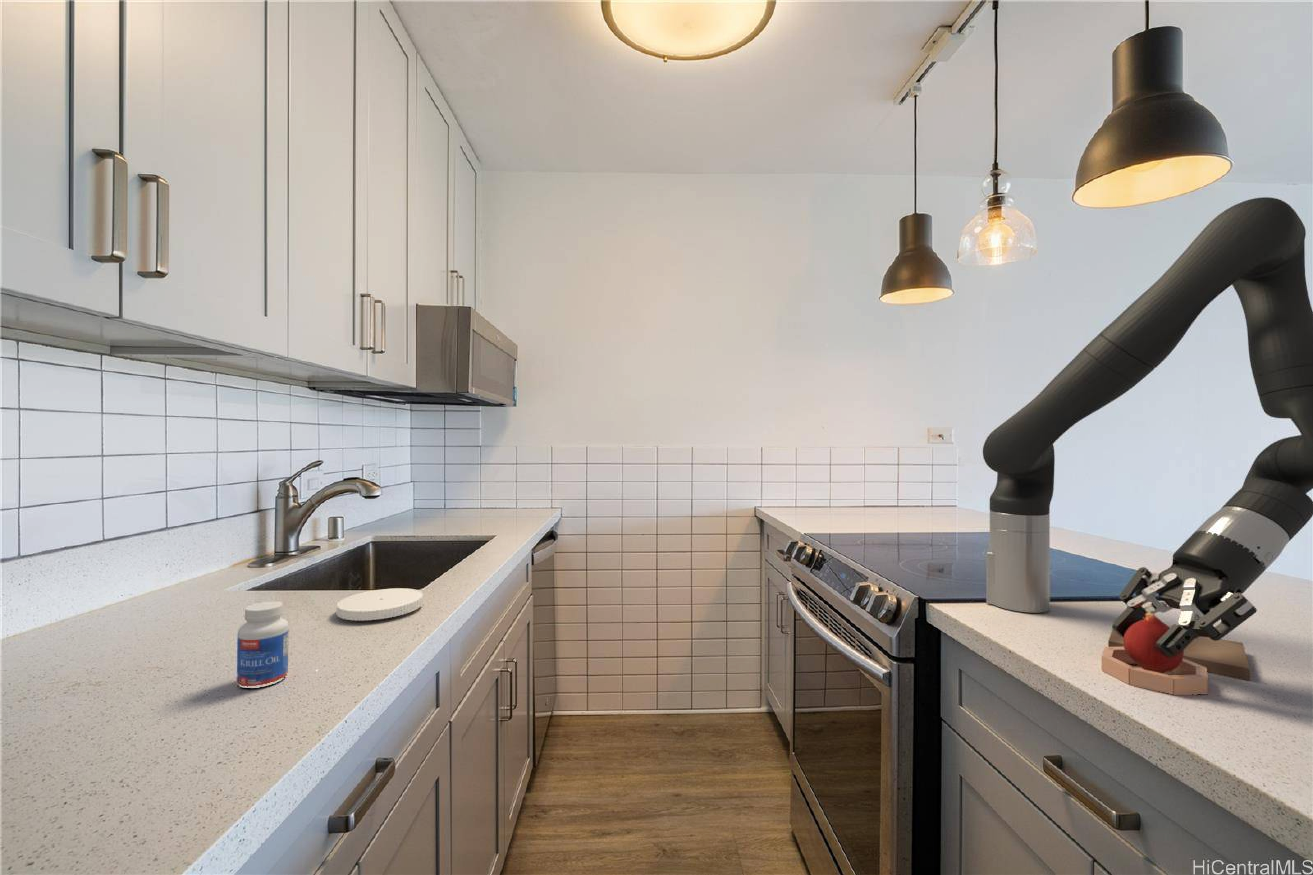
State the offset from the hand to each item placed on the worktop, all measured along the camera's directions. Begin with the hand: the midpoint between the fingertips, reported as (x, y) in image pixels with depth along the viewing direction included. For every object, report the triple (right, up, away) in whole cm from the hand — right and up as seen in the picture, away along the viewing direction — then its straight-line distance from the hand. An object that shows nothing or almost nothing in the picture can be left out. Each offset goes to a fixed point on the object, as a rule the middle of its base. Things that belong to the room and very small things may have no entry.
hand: (1139, 642), depth 71 cm
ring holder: (+2, -5, 0) cm, 5 cm away
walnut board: (+12, -4, +8) cm, 15 cm away
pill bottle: (-114, -5, 0) cm, 114 cm away
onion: (+2, -4, 0) cm, 5 cm away
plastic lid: (-112, -5, +28) cm, 116 cm away
